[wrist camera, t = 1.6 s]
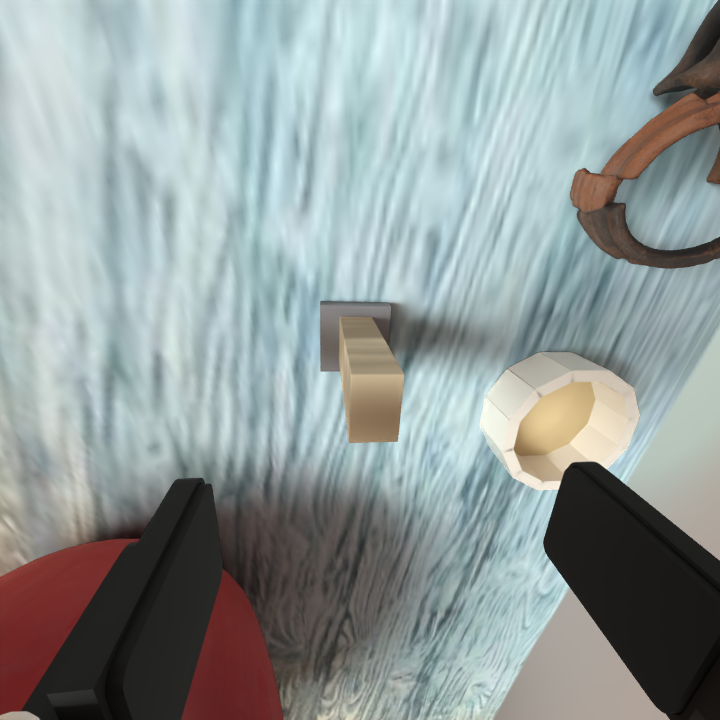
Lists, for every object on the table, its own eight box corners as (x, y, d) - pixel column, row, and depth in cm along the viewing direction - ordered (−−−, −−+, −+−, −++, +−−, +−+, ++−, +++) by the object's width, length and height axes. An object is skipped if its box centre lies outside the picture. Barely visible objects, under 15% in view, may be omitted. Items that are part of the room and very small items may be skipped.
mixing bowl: (361, 510, 28) (401, 800, 14) (261, 702, 37) (223, 1006, 22) (-37, 415, 22) (-735, 774, 7) (-46, 675, 30) (-381, 1079, 16)
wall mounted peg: (320, 301, 21) (318, 356, 12) (387, 302, 22) (437, 357, 12) (320, 364, 23) (319, 458, 14) (383, 364, 24) (424, 454, 14)
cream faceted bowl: (493, 351, 24) (520, 370, 21) (614, 352, 25) (658, 370, 22) (472, 461, 27) (492, 492, 24) (579, 457, 28) (612, 486, 25)
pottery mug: (713, 224, 22) (795, 276, 16) (553, 242, 26) (570, 289, 20) (811, -39, 16) (1014, -119, 10) (575, 33, 19) (613, 8, 13)
